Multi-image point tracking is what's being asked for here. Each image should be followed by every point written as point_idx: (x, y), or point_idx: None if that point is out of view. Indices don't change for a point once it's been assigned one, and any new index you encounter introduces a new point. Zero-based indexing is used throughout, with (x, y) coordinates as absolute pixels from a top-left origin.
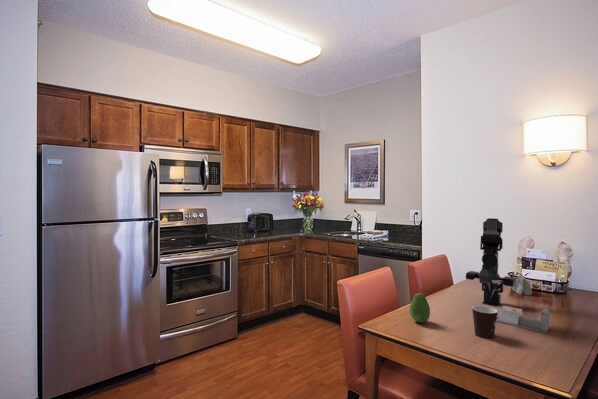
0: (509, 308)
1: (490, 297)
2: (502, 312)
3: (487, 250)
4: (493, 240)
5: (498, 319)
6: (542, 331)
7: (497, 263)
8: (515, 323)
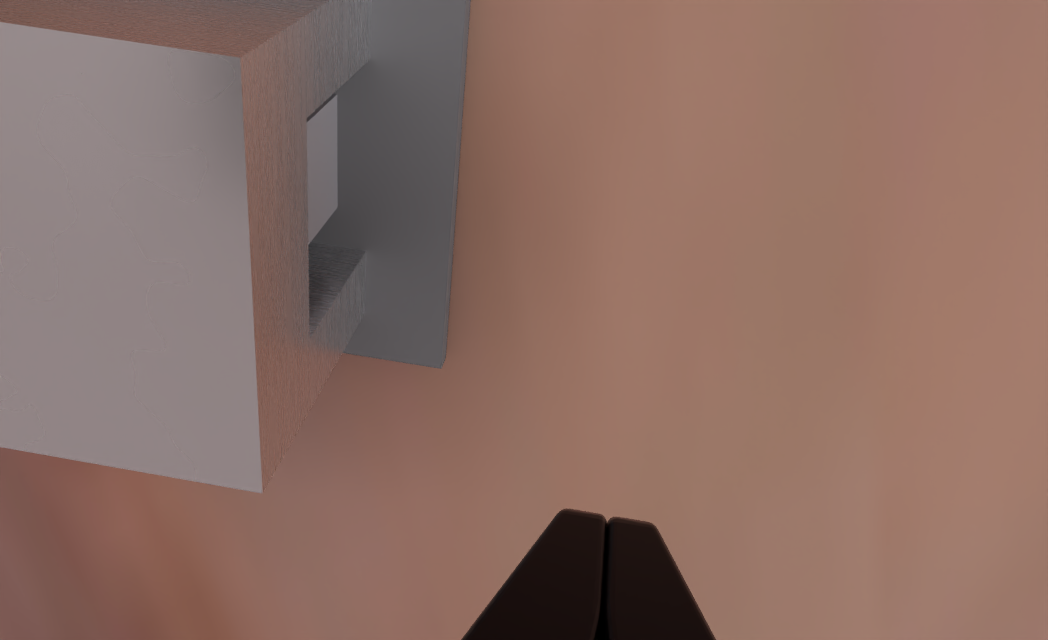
0: (26, 310)
1: (562, 522)
2: (172, 10)
3: None
4: None
5: (401, 62)
6: None
7: None
8: None
